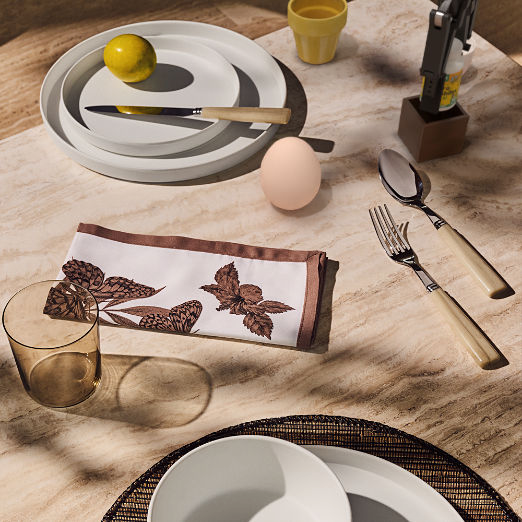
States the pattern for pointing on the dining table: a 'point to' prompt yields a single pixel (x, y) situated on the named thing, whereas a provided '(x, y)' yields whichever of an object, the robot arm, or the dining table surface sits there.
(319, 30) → the flower pot
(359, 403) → the dining table surface
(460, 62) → the supplement bottle
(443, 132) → the brown square planter
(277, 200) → the egg
